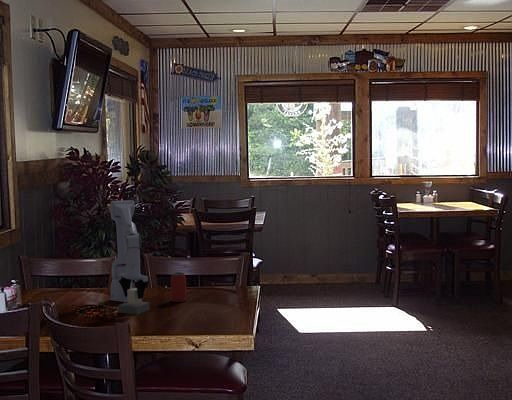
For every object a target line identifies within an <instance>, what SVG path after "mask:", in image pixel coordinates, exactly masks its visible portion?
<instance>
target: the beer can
mask: <svg viewBox="0 0 512 400" xmlns="http://www.w3.org/2000/svg"><path fill="white" fill-rule="evenodd" d="M186 300H187V277H186V275H185V273H184V272H173V273H171V276H170V301H171V302H173V303H184V302H186Z"/></svg>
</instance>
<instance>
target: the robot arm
mask: <svg viewBox="0 0 512 400" xmlns="http://www.w3.org/2000/svg"><path fill="white" fill-rule="evenodd" d="M134 201H135V200H133V199H129V200H128V199H127V200H111V201H110V204H109V210H110V217H111V218H110V219H111V220H113V221H114V222H115V225H116V226H115V228H116V244H117V248H116V249H117V258H116V259H114V261H112V263H111V277H112V279H113V280H112V281H111V283H110V298H109V300H110V301H113V302H114V301H115V302H122V303H126V302H128V297H127V289H132V288H133V281H134V283H135V286H136V287H135V288H137V293H138V299H141V298H142V299H144V295H145V290H146V288H147V286H148V284H149V277H148V276H147V275H144V274H141V250H140V249H141V248H142V237H141V234H139V232H138V230H137V227H136V224H135V222H132V219H133V216H134V213H135V202H134Z"/></svg>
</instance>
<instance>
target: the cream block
mask: <svg viewBox="0 0 512 400" xmlns="http://www.w3.org/2000/svg"><path fill="white" fill-rule="evenodd" d="M127 297H128V301H127V302H128V304H130V305H137V304H141V303H142V302H143V298H141V299H138V293H137V287H132V289H127Z"/></svg>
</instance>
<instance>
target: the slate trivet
mask: <svg viewBox="0 0 512 400" xmlns="http://www.w3.org/2000/svg"><path fill="white" fill-rule="evenodd" d="M150 305H151V304H150V302H148V301H142V303H141V304H137V305H130V304H128V301H127V302H123V303H121V304H118V305H117V309H118V313H119V314H129V315H139V314H142V313H144V312H147V311H150V308H151V307H150Z"/></svg>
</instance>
